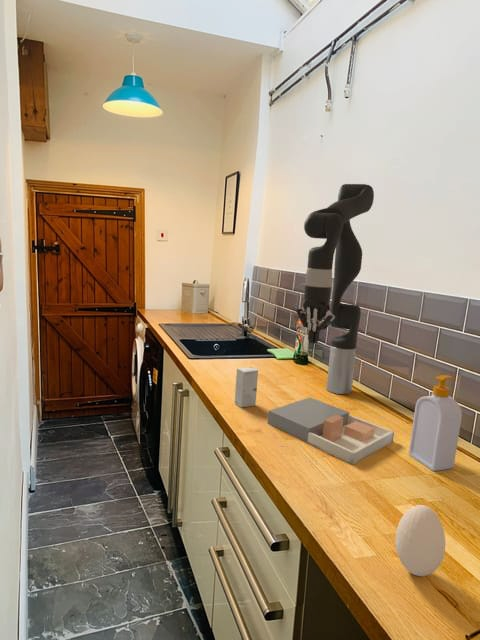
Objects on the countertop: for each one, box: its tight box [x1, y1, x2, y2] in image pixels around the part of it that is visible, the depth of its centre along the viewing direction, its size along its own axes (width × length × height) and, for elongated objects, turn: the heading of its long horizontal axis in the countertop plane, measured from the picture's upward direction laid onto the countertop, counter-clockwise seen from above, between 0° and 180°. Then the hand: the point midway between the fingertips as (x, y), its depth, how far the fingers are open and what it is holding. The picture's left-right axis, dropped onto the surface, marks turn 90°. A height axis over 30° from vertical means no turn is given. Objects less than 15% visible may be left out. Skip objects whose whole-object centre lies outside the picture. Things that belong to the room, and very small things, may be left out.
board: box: [267, 397, 350, 443], centre depth 124 cm, size 20×15×4 cm
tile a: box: [344, 421, 375, 442], centre depth 117 cm, size 6×6×2 cm
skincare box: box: [234, 366, 259, 408], centre depth 136 cm, size 6×4×12 cm
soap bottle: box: [408, 374, 463, 472], centre depth 104 cm, size 9×7×23 cm
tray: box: [307, 414, 395, 466], centre depth 114 cm, size 21×14×3 cm, turn 133°
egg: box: [394, 504, 446, 577], centre depth 67 cm, size 7×7×12 cm
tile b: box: [322, 415, 343, 442], centre depth 114 cm, size 6×6×2 cm
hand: (312, 342), depth 121 cm, fingers closed
